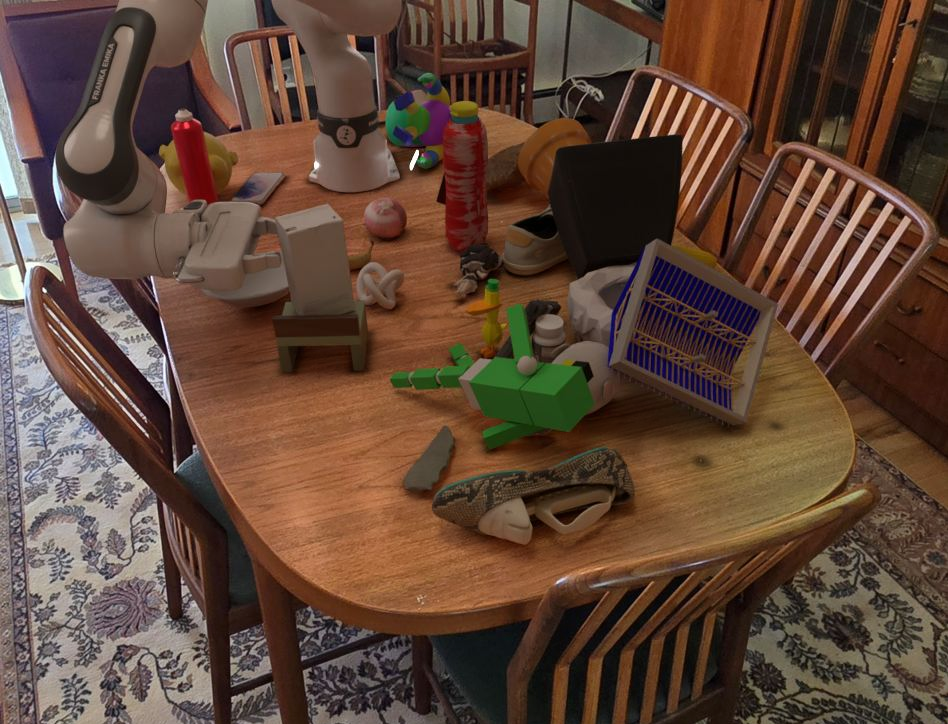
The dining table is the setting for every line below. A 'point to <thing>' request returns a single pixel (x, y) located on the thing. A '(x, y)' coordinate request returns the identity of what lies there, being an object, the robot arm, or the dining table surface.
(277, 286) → the dish
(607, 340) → the bowl
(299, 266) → the cosmetic box
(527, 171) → the flower pot
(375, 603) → the dining table surface
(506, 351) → the handgun
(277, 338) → the shelf
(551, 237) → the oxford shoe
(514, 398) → the toy
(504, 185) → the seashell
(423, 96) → the ice cream cone
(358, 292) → the knot
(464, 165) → the water bottle
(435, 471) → the stone
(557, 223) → the flower pot
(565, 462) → the ballet flat
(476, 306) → the toy figure
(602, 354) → the toy
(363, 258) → the banana
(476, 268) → the figurine
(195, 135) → the bottle
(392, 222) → the onion
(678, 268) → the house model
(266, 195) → the smartphone
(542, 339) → the pill bottle
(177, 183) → the sculpture
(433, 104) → the figurine
